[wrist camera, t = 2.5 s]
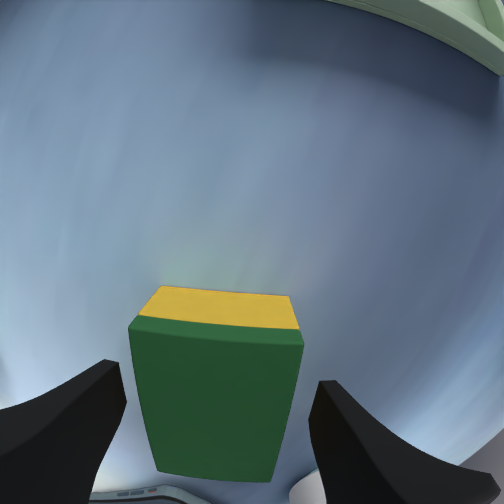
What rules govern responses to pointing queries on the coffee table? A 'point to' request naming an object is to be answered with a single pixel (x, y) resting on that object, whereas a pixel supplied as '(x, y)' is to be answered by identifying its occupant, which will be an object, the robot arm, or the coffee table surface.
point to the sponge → (215, 380)
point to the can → (308, 490)
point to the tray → (450, 24)
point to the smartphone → (148, 496)
